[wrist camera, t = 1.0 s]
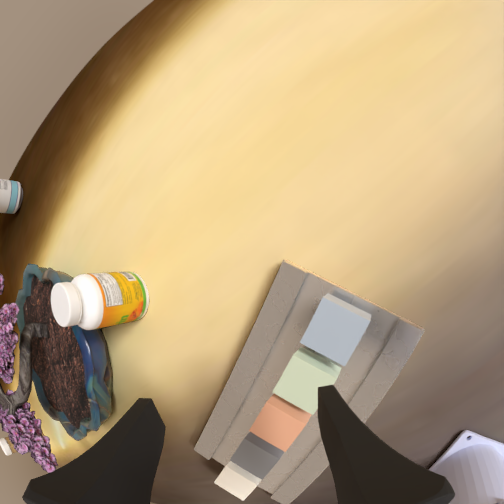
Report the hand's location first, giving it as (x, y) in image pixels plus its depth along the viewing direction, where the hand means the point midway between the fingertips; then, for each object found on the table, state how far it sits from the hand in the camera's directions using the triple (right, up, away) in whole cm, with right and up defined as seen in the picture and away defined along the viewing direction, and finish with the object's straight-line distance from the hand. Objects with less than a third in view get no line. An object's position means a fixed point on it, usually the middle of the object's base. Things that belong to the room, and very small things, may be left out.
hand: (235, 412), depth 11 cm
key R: (+2, -10, +10) cm, 15 cm away
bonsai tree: (-27, -5, +26) cm, 38 cm away
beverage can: (-49, +18, +37) cm, 64 cm away
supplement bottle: (-12, +2, +19) cm, 23 cm away
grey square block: (+7, +2, +8) cm, 11 cm away
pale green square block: (+5, -2, +9) cm, 11 cm away
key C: (+3, -6, +10) cm, 12 cm away
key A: (0, -14, +11) cm, 18 cm away
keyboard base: (+4, -6, +12) cm, 14 cm away
